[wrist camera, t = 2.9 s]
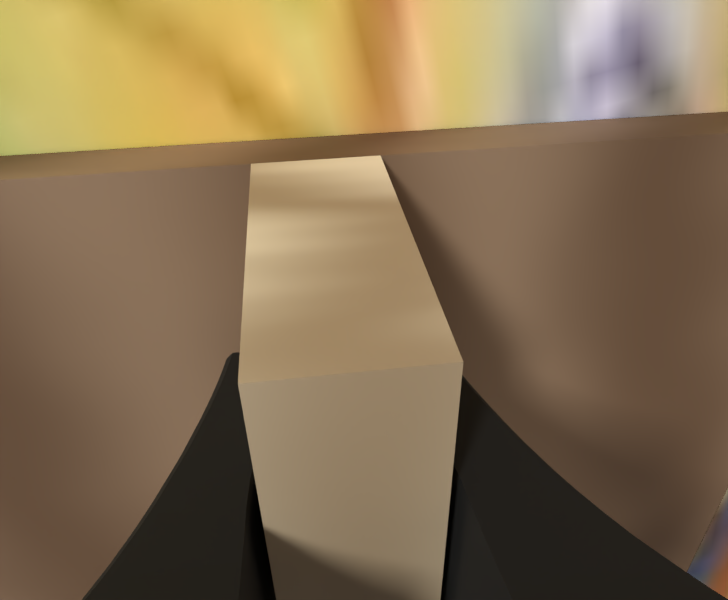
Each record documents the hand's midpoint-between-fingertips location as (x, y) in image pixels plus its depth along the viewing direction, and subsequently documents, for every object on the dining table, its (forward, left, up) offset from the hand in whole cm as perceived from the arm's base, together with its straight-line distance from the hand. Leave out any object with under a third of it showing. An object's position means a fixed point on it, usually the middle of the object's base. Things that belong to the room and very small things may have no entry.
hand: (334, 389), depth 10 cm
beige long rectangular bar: (0, -2, -1) cm, 2 cm away
